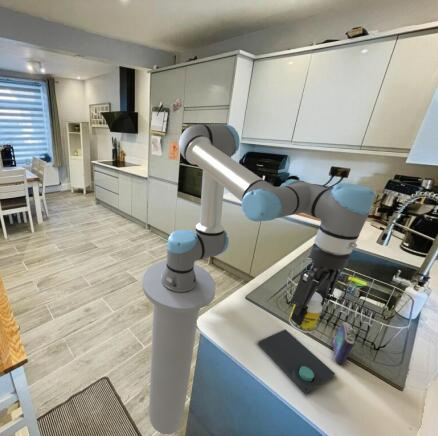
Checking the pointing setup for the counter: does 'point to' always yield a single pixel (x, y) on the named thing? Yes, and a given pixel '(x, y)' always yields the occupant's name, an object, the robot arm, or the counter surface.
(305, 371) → the scale button
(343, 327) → the flask
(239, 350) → the counter surface
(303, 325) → the pill bottle
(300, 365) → the scale
